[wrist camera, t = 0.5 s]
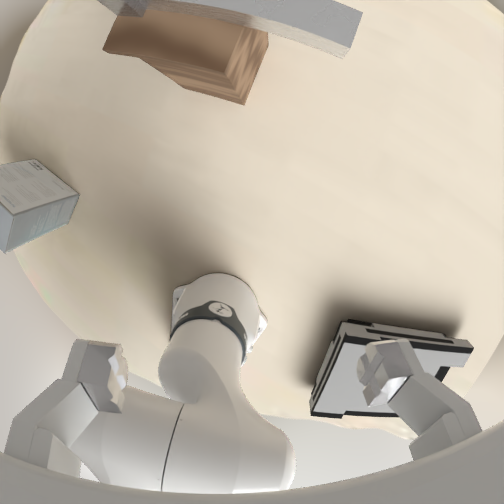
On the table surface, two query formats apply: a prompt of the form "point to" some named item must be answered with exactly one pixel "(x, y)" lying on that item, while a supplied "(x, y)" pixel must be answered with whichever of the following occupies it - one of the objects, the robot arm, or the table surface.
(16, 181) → the hard drive box
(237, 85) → the walnut stand
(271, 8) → the link bar
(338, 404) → the game console
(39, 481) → the robot arm
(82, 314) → the table surface
